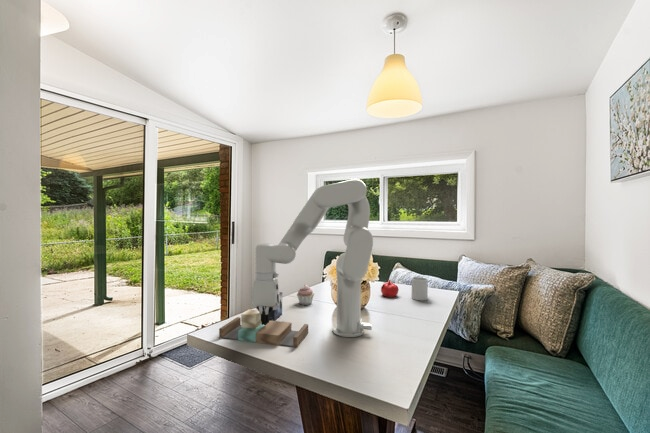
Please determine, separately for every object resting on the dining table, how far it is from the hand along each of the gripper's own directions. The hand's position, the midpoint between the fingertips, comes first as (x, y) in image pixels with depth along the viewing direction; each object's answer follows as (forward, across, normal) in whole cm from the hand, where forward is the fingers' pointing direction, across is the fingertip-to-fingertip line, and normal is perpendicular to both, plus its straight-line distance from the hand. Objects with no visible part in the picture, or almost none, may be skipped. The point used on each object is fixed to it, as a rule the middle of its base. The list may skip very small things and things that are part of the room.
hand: (265, 323), depth 117 cm
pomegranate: (+5, -44, -70) cm, 83 cm away
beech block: (+1, +6, 0) cm, 6 cm away
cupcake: (+5, -2, -44) cm, 44 cm away
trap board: (+5, 0, 0) cm, 5 cm away
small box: (+5, +6, -20) cm, 21 cm away
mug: (+5, -62, -70) cm, 94 cm away
